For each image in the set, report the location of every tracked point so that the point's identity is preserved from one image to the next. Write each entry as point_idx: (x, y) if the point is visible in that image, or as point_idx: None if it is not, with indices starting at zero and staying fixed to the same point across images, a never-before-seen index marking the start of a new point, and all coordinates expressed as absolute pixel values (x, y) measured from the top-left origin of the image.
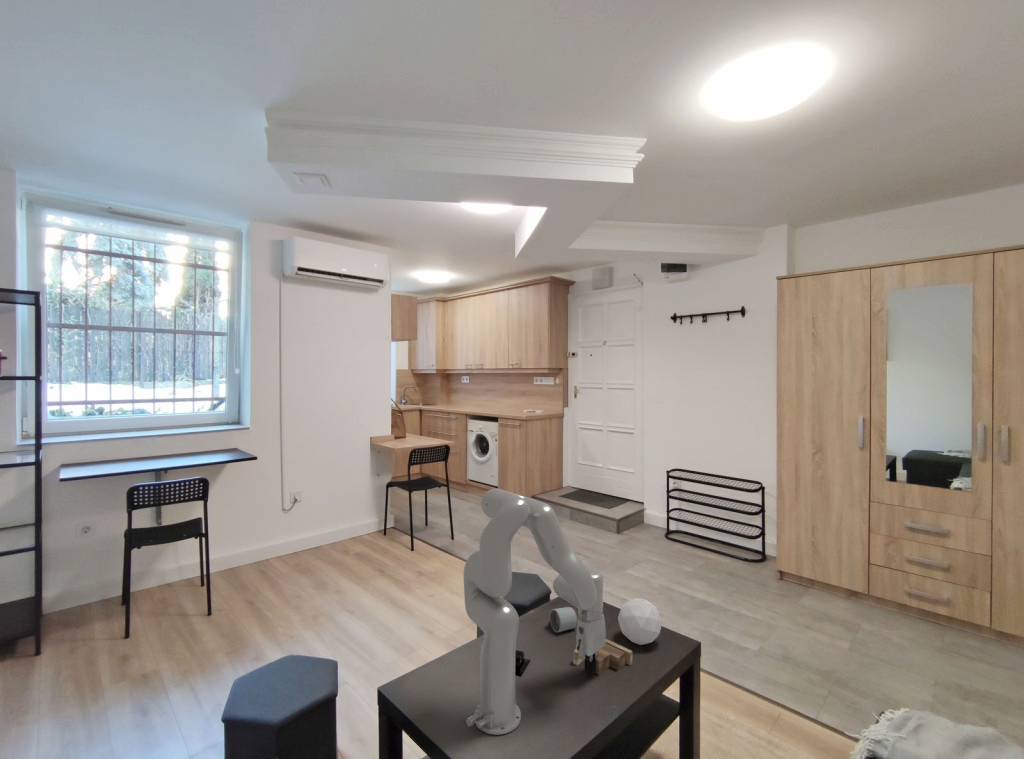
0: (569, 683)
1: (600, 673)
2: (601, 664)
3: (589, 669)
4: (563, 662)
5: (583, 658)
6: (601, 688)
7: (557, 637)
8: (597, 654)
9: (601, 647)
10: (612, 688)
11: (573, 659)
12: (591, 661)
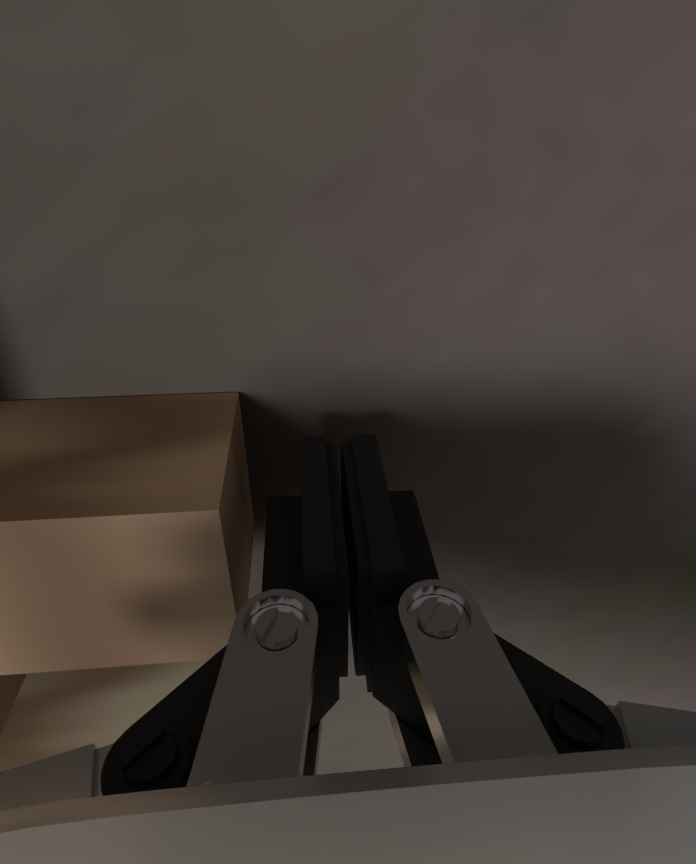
0: (599, 505)
1: (210, 397)
2: (161, 467)
3: (416, 502)
4: (350, 684)
5: (687, 717)
6: (470, 198)
7: None
8: (76, 627)
9: (161, 844)
10: (353, 49)
11: None
12: (442, 585)
